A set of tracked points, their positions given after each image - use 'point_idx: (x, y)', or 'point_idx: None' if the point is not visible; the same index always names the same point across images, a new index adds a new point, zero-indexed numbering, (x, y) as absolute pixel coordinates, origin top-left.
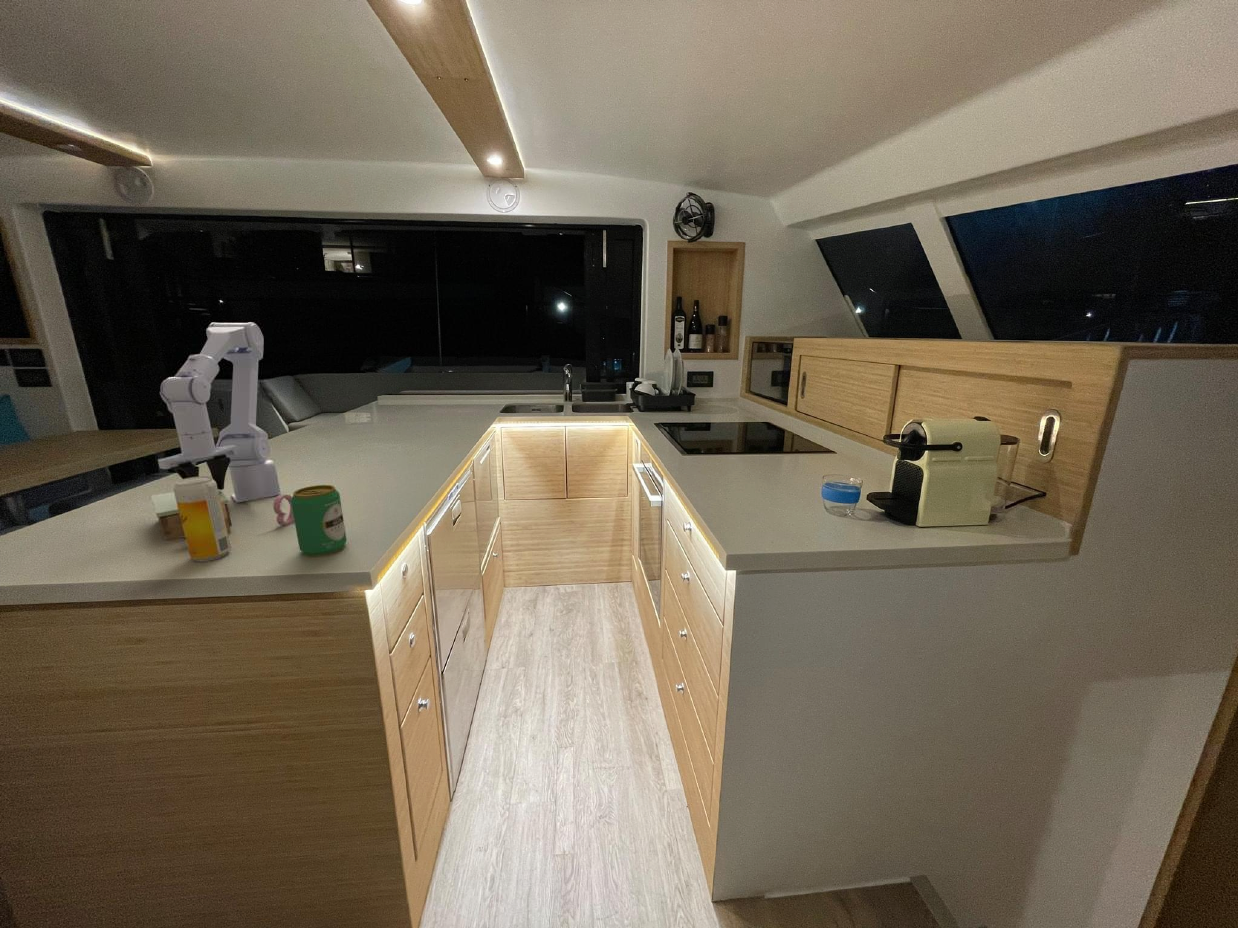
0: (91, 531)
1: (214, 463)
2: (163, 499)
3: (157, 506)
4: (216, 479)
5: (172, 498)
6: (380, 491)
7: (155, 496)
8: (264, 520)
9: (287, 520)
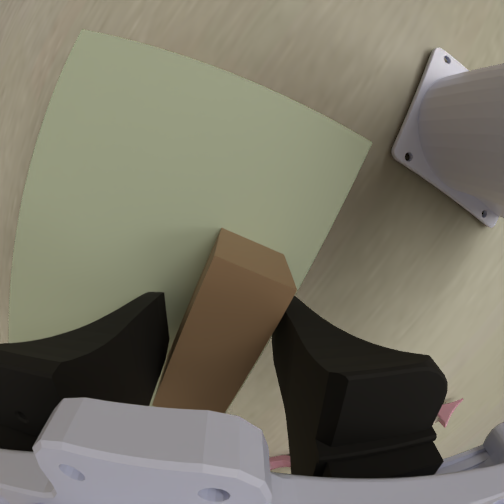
0: (21, 10)
1: (302, 462)
2: (64, 169)
3: (18, 273)
4: (282, 357)
5: (90, 197)
6: (490, 423)
7: (80, 61)
8: (276, 410)
9: (282, 462)
